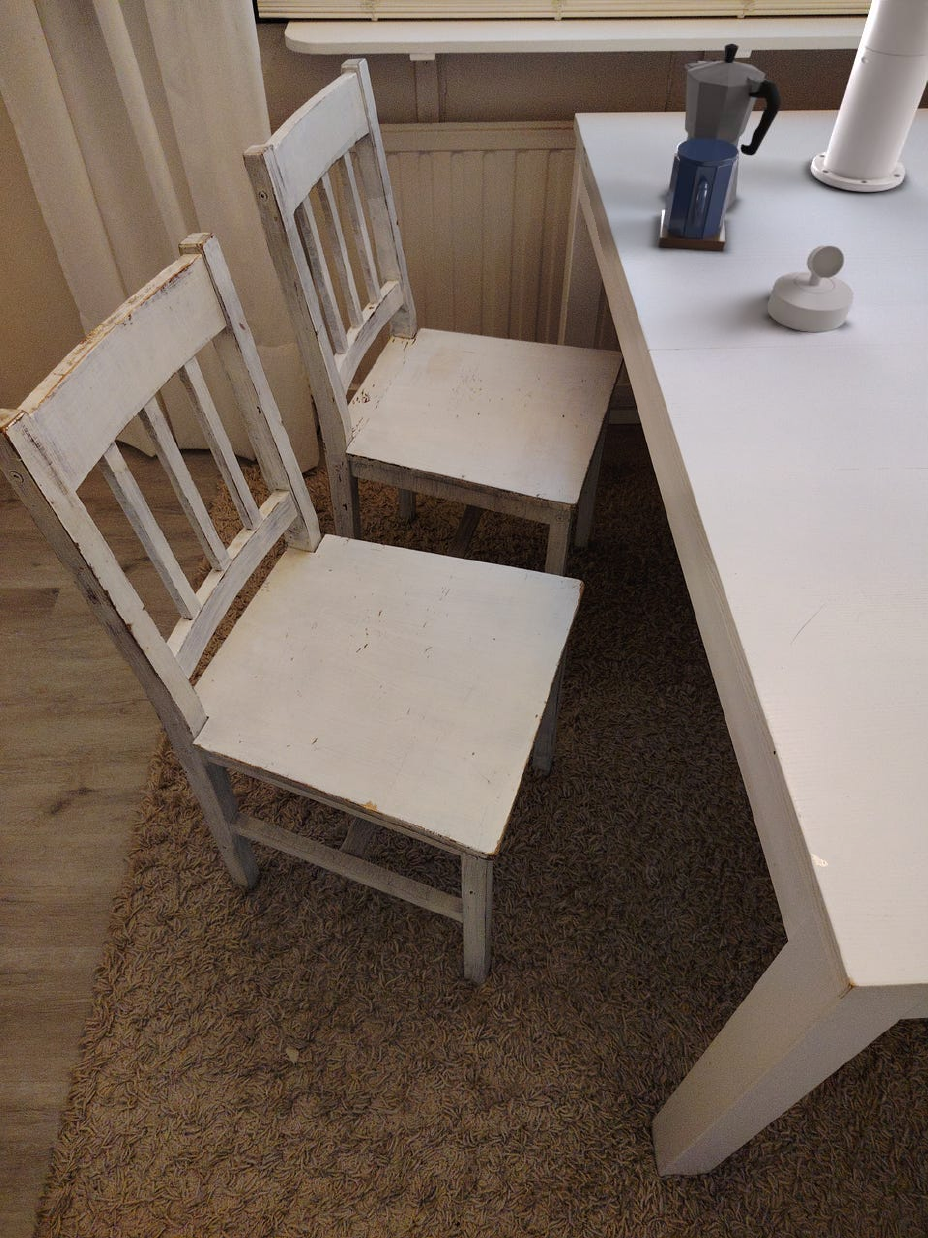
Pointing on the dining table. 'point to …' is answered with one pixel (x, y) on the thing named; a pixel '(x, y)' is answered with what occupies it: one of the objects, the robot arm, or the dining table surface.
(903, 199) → the dining table surface
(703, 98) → the coffeepot
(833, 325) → the wall hook
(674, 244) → the cup stand
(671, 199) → the cup
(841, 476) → the dining table surface
